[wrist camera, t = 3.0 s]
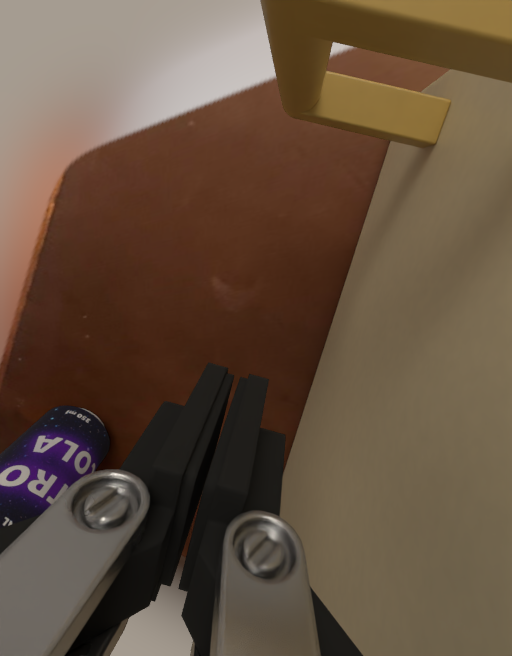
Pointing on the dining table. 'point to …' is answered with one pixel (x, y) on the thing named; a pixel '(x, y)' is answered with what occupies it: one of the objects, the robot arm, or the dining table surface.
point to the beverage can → (49, 461)
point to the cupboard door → (412, 333)
